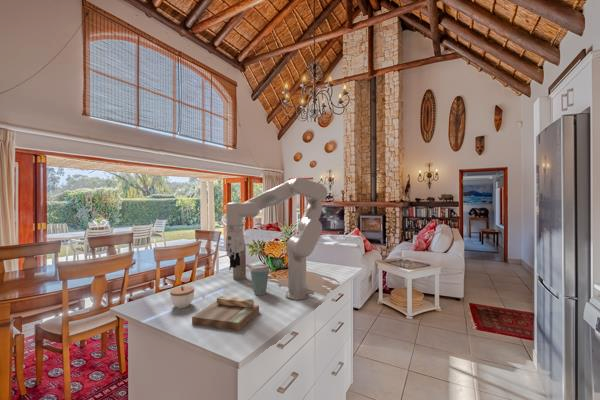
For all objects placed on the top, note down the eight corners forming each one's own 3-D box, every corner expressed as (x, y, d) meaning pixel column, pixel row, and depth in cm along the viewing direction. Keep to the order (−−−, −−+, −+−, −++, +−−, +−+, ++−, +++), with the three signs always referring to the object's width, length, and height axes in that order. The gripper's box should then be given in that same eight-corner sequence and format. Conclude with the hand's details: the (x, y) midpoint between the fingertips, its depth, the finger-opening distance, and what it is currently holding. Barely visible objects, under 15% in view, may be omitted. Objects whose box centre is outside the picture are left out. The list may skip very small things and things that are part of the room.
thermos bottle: (248, 277, 177) (247, 234, 177) (239, 280, 171) (239, 236, 170) (239, 275, 182) (239, 233, 181) (230, 278, 175) (230, 235, 175)
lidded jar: (199, 302, 136) (198, 284, 136) (183, 311, 126) (183, 291, 126) (181, 300, 139) (181, 282, 139) (165, 308, 129) (164, 288, 129)
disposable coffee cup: (246, 295, 146) (246, 267, 145) (255, 288, 156) (255, 262, 156) (265, 297, 143) (265, 268, 143) (272, 290, 153) (272, 263, 153)
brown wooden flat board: (259, 312, 124) (259, 305, 124) (239, 330, 107) (239, 322, 107) (216, 306, 131) (216, 300, 131) (192, 323, 113) (191, 316, 113)
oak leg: (253, 305, 124) (253, 299, 123) (250, 308, 121) (250, 301, 121) (220, 301, 128) (220, 295, 128) (216, 304, 125) (216, 297, 125)
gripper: (232, 230, 122) (233, 271, 123) (249, 226, 138) (249, 262, 138) (218, 230, 124) (218, 270, 125) (236, 226, 140) (236, 262, 140)
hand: (235, 266), depth 131 cm, fingers open, 2 cm apart
